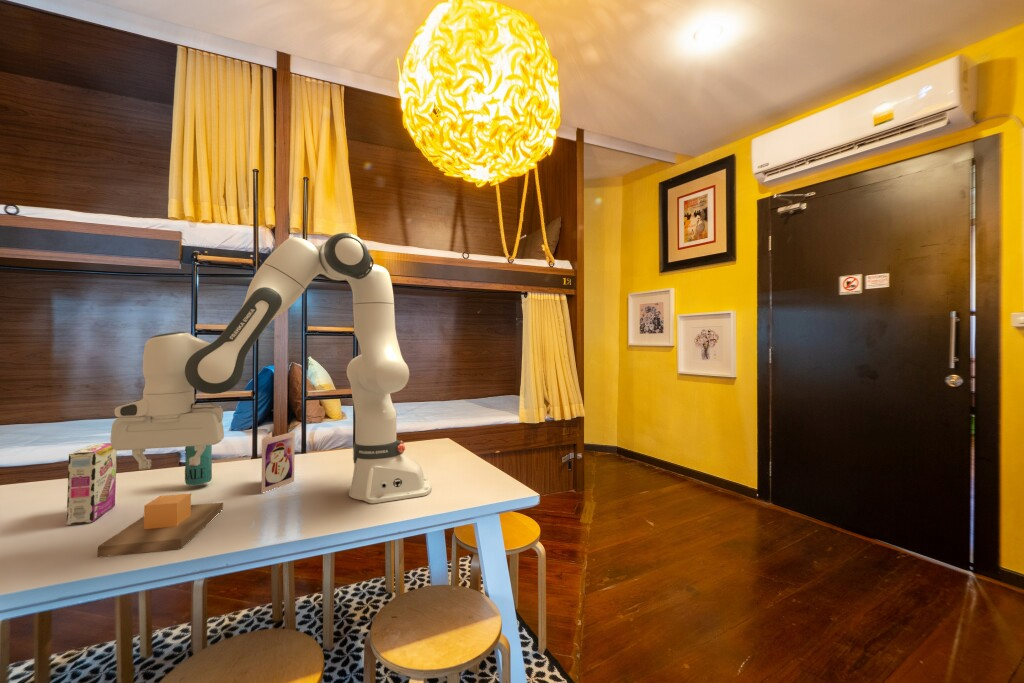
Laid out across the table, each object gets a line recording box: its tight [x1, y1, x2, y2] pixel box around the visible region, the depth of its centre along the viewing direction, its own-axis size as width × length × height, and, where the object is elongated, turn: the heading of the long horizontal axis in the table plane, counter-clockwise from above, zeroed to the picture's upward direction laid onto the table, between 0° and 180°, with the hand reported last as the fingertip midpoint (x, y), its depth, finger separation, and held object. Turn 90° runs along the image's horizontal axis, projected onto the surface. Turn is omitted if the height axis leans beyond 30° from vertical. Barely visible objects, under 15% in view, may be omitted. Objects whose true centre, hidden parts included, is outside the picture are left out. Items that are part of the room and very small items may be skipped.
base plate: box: [96, 502, 224, 558], centre depth 93 cm, size 14×20×2 cm
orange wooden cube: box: [143, 493, 192, 529], centre depth 93 cm, size 6×6×5 cm
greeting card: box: [261, 431, 296, 494], centre depth 122 cm, size 11×7×15 cm, turn 163°
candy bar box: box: [66, 442, 118, 526], centre depth 101 cm, size 11×5×16 cm, turn 23°
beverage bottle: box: [184, 445, 213, 486], centre depth 121 cm, size 6×7×20 cm
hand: (170, 467), depth 93 cm, fingers open, 8 cm apart
